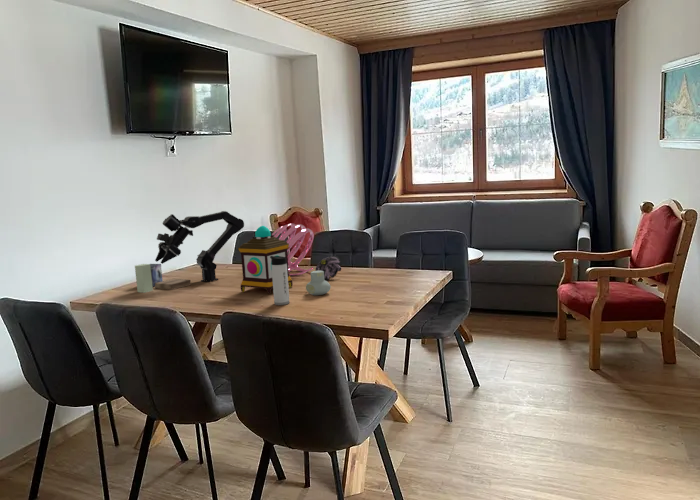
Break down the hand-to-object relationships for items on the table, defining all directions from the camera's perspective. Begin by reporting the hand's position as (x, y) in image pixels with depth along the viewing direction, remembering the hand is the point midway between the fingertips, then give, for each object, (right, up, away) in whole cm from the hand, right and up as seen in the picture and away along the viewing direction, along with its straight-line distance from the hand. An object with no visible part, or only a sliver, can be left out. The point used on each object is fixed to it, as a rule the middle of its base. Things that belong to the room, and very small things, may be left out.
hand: (158, 262), depth 274 cm
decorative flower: (+83, -8, +7) cm, 84 cm away
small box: (-7, -12, +12) cm, 19 cm away
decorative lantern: (+55, -13, -14) cm, 58 cm away
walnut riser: (+5, -12, +6) cm, 15 cm away
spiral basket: (+63, -7, +24) cm, 68 cm away
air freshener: (+80, -14, -29) cm, 86 cm away
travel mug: (+66, -16, -43) cm, 80 cm away
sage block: (-6, -14, -2) cm, 15 cm away
